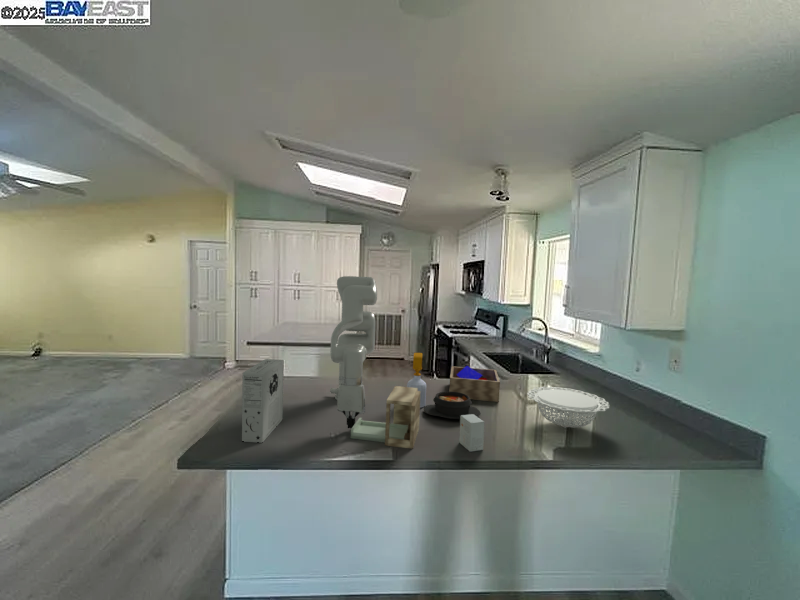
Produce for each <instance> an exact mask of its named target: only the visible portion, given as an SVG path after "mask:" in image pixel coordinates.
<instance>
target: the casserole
mask: <svg viewBox="0 0 800 600" xmlns="http://www.w3.org/2000/svg"><path fill="white" fill-rule="evenodd" d="M433 402H434V404H427V405H425V406H424V407H423V411H424V412H425V413H426V414H428V415H430V416H434V417H441V418H444V419H448V420H460V416H461V415H470V414H474V415H475V416H477V417H479V416H481V411H480V410H479V409H478V408H476V407H475V406H472V405H473V404H472V403H473V402H472V401H471V399H470V397H469V396H467V395H466V394H463V393H459V392H451V391H441V392H437V393H436V394H435V396H434V397H433Z"/></svg>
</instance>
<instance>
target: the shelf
mask: <svg viewBox="0 0 800 600" xmlns="http://www.w3.org/2000/svg"><path fill="white" fill-rule="evenodd" d="M420 393H421V391H418V388H412V387H407V386H400V385H399V386H398V385H394V387H393V389H392V391H391V392H390V394H389V395H388V397H387V399H386V403H385V404H386V408H385V423H386V429H385V442H384V446H388V447H395V448H403V449H414V447H415V444H416V440H417V437H418V433H419V430H420V414H421V413H420V412H421V410H420V409H421V408H420ZM392 404H393V418H392V419H393V421H392V422H393V423H392V424H401V425H408V433H405V436H404V440H403V439H394V438H389V427H390V422H391V420H390V418H391V405H392Z"/></svg>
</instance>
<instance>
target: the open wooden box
mask: <svg viewBox="0 0 800 600" xmlns="http://www.w3.org/2000/svg"><path fill="white" fill-rule="evenodd" d="M465 367H466V366H465ZM465 367H462V366H453V365H452V366H451V369H450V375H449V391H451V392H459V393H463V394H466V395H467V396H469V397H470V400H474V401H487V402H493V403H494V402H497V403H499V402H500V390H501V389H500V388H501V387H500V386H501V381H500V378H499V375H498V371H497V369H492V368H491V369H489V368H487V369H486V368H478V367H471V368H472V369H473V370H475V371H477V372H478V373H480V374H481V375H483V376H484V377H485V378H486V379H487V380H477V379H465V378H457V374H458V373H459V372H460V371H461V370H462V369H463V368H465Z"/></svg>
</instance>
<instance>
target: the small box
mask: <svg viewBox="0 0 800 600" xmlns="http://www.w3.org/2000/svg"><path fill="white" fill-rule="evenodd" d="M484 439H485V421H484V420H482V419H481V418H480V417H479V416H475V415H474V414H470V415H461V416H460V419H459V441H458V443H460V445H462V447H464V448H465V449H466V450H468V452H477V451H483V450H484V444H485V443H484V442H485V441H484Z"/></svg>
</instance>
